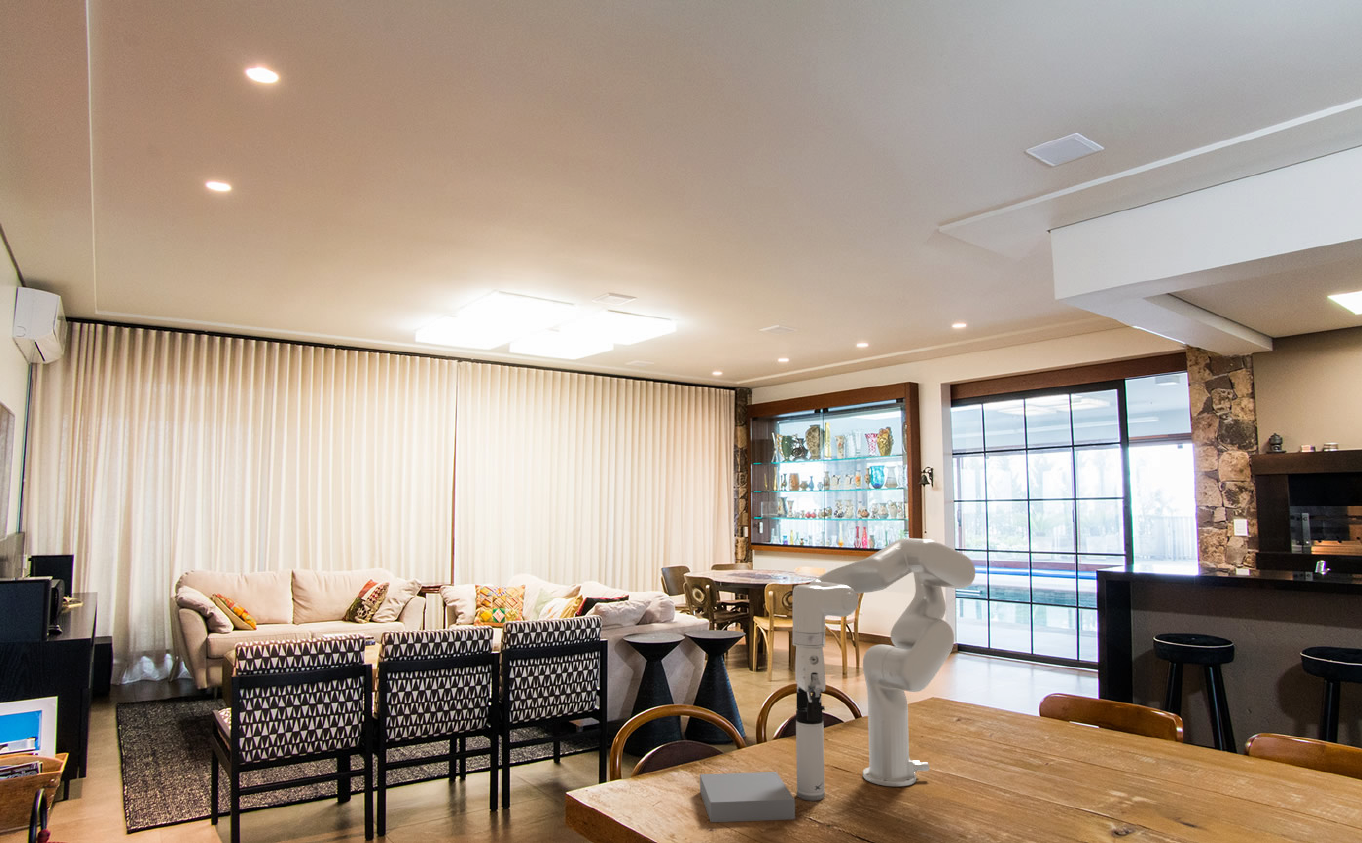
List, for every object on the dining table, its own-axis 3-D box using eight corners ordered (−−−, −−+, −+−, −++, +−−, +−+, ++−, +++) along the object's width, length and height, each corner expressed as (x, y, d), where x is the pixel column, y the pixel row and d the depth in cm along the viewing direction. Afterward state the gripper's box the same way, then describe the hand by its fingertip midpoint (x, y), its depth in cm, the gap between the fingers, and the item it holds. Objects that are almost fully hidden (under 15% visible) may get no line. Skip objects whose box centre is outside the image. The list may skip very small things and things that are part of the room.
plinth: (776, 789, 189) (776, 771, 189) (795, 818, 171) (794, 799, 172) (700, 791, 187) (700, 774, 188) (710, 822, 169) (710, 802, 170)
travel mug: (825, 802, 181) (824, 709, 183) (796, 799, 182) (794, 708, 184) (826, 792, 187) (825, 703, 189) (797, 790, 188) (796, 701, 191)
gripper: (835, 645, 180) (835, 724, 178) (814, 633, 197) (814, 706, 195) (802, 644, 179) (802, 724, 177) (784, 633, 197) (784, 706, 195)
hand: (808, 714), depth 186 cm, fingers open, 9 cm apart
